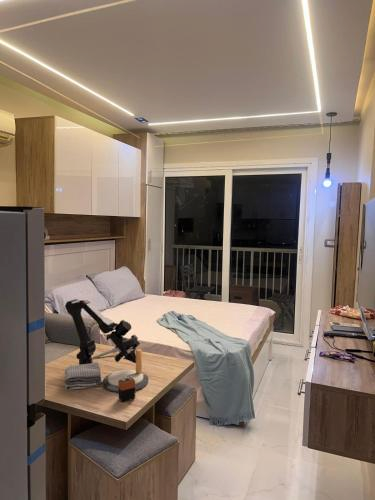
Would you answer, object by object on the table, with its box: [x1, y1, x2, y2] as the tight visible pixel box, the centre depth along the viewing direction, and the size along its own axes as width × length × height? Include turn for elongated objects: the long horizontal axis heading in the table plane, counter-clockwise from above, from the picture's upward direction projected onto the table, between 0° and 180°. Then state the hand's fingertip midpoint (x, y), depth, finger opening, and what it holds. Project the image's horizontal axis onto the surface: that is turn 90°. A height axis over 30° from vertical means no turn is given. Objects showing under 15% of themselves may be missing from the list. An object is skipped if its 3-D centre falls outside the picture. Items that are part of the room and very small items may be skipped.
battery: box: [118, 377, 136, 403], centre depth 168 cm, size 4×7×10 cm, turn 123°
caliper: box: [92, 347, 121, 360], centre depth 221 cm, size 20×1×6 cm, turn 120°
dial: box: [108, 348, 143, 387], centre depth 185 cm, size 18×18×13 cm
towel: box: [64, 361, 103, 391], centre depth 184 cm, size 15×18×8 cm
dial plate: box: [102, 371, 149, 394], centre depth 185 cm, size 23×23×2 cm
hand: (137, 363), depth 191 cm, fingers closed, pressing on dial
